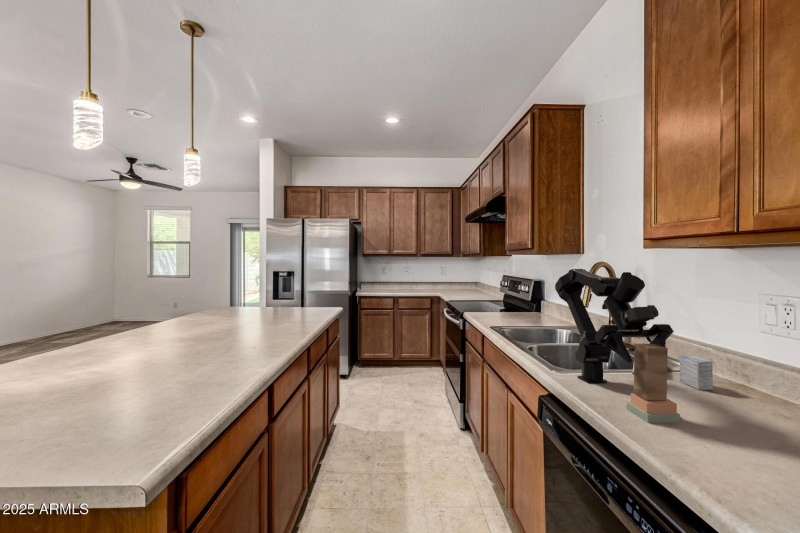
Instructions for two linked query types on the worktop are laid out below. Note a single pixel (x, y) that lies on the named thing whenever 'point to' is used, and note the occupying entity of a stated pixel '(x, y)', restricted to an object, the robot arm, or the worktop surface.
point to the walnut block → (650, 371)
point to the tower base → (652, 415)
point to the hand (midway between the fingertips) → (648, 361)
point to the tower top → (654, 405)
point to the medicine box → (696, 372)
